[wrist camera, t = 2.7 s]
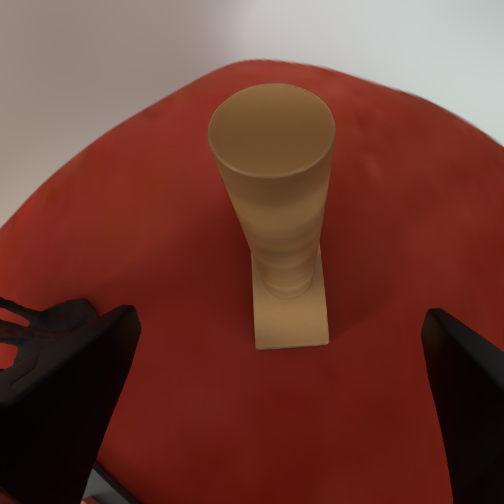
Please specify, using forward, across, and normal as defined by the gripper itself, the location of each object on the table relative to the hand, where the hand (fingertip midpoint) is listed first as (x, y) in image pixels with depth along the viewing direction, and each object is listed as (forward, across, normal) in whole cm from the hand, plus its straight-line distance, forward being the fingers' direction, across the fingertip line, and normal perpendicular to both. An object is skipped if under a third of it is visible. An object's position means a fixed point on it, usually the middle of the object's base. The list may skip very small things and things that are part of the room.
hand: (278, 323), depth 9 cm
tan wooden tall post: (+10, 0, +5) cm, 12 cm away
